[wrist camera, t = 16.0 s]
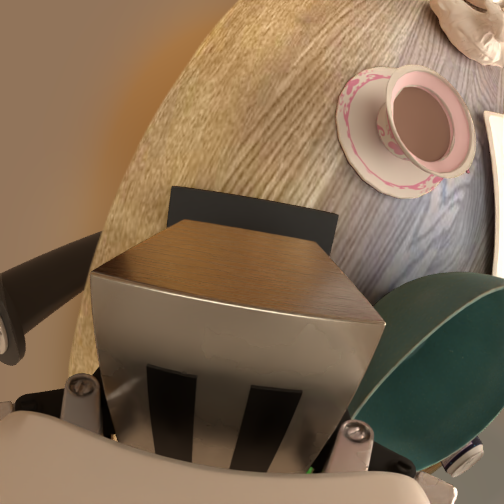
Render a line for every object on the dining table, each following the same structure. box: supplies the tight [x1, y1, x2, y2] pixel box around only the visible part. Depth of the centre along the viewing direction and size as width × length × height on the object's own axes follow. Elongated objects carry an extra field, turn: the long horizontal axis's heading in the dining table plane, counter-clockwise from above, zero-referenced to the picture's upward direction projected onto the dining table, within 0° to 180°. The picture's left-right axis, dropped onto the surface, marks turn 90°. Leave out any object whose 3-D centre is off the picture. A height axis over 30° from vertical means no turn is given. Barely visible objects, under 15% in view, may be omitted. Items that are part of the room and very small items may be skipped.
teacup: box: [335, 65, 476, 199], centre depth 16 cm, size 12×12×6 cm
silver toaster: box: [90, 219, 386, 474], centre depth 10 cm, size 6×12×8 cm, turn 170°
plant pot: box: [348, 272, 504, 472], centre depth 18 cm, size 18×18×12 cm
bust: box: [430, 0, 504, 68], centre depth 11 cm, size 12×8×11 cm
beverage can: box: [441, 436, 484, 477], centre depth 21 cm, size 6×6×12 cm
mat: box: [167, 186, 338, 256], centre depth 22 cm, size 13×13×1 cm
